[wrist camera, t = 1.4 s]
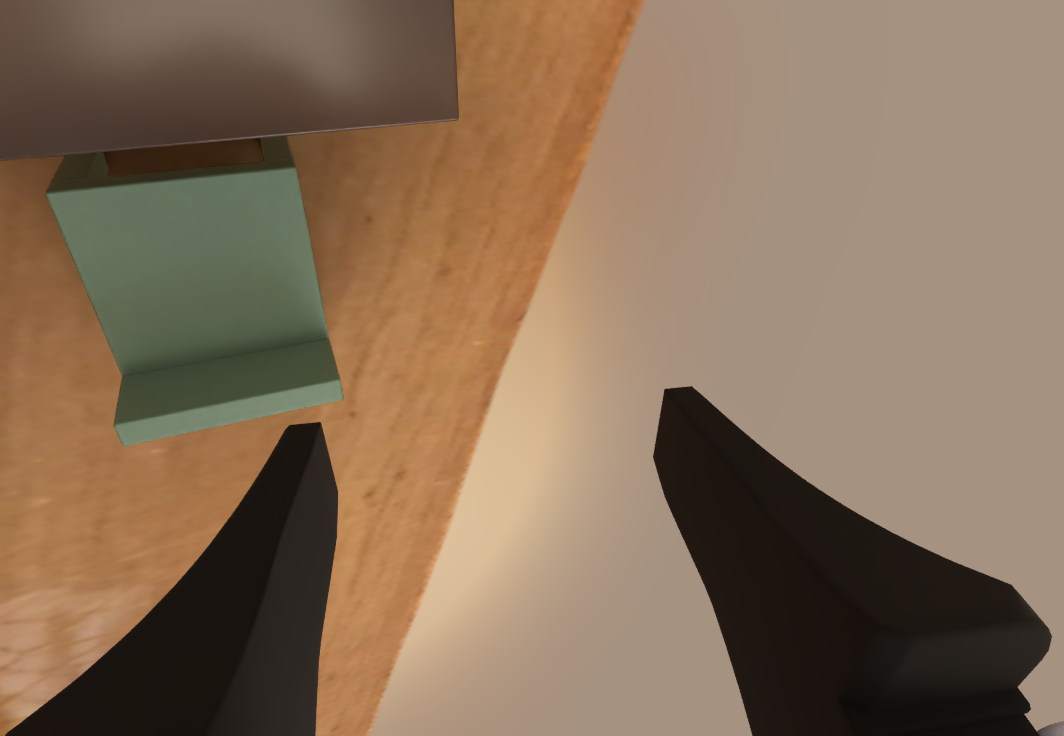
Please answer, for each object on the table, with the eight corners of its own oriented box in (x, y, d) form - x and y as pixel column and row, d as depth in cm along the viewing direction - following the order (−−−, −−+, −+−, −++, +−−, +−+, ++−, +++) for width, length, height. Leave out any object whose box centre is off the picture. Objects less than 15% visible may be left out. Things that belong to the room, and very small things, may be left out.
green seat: (320, 315, 25) (347, 415, 20) (146, 345, 23) (129, 463, 19) (283, 127, 21) (306, 196, 16) (69, 145, 19) (22, 229, 15)
